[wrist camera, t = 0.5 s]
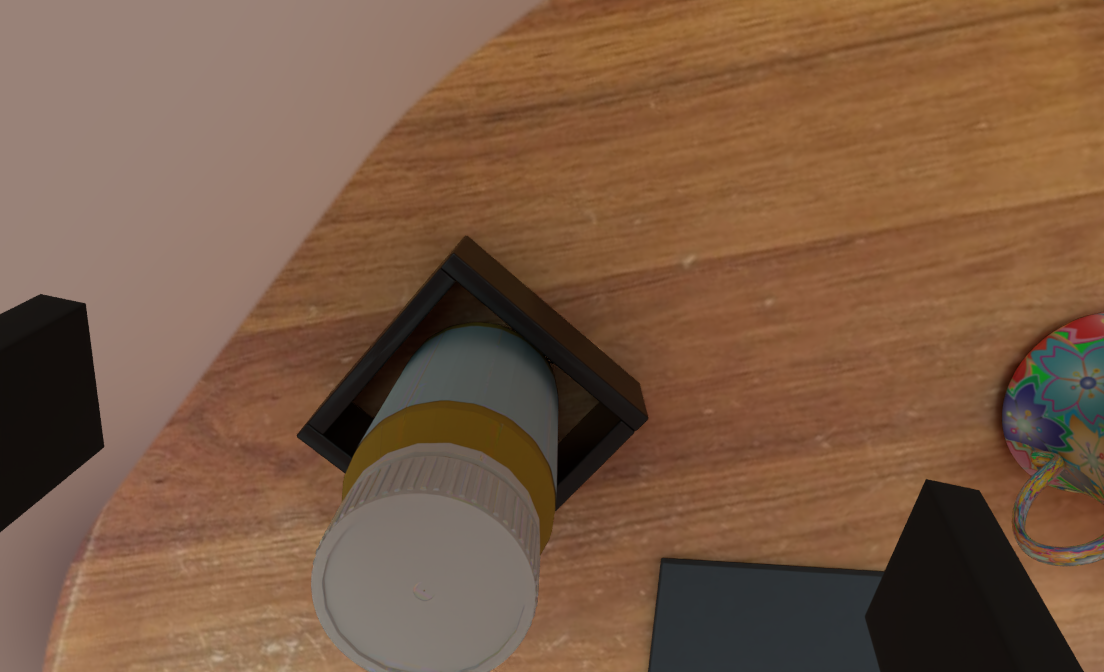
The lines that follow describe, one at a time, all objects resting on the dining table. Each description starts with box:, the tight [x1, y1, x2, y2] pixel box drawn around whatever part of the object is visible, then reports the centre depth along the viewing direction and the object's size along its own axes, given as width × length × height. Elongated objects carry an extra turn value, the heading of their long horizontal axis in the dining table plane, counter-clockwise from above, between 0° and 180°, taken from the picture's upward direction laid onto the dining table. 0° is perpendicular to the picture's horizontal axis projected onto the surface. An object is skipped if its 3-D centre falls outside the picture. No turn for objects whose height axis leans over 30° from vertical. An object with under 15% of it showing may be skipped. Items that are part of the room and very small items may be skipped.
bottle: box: [311, 322, 558, 672], centre depth 28 cm, size 7×7×15 cm
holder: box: [297, 236, 648, 511], centre depth 33 cm, size 10×10×4 cm
